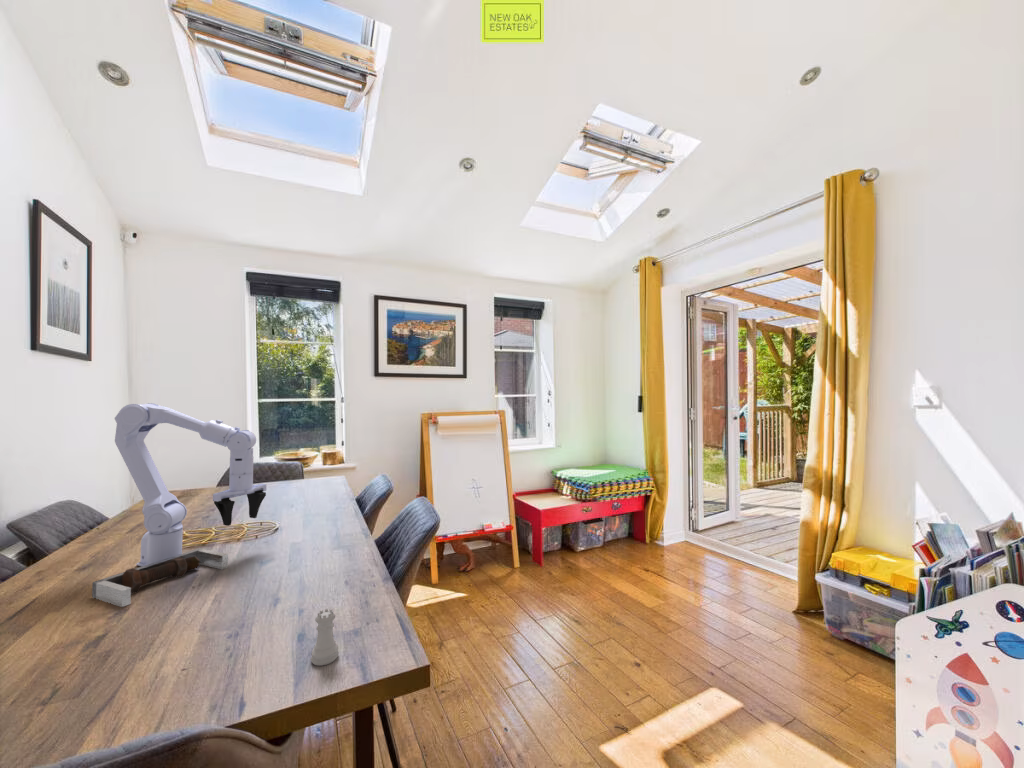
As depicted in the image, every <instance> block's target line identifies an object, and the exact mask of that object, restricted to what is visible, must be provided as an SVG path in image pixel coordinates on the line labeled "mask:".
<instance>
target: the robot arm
mask: <svg viewBox="0 0 1024 768" xmlns="http://www.w3.org/2000/svg"><path fill="white" fill-rule="evenodd" d="M114 420H115V422H116V428H115V434H114V435H115V436H114V443H115V445H116V447H117V450H118V451H119V453H120V456H121V457H122V460H123V462H124V463H125V466H126V467H127V470H128V471H129V473H130V475H131V477H132V479H133V481H134V483H135V485H136V487H137V489H138V492H139V494H140V495H141V497H142V499H143V501H144V502H143V503H144V504H143V506H142V509H141V510H142V511H141V512H142V514H143V518H144V519H143V526H144V528H145V529H146V530H147V531H146V532H145V533H144V534H143V536H142V538H141V539H140V540H141V541H140V562H137V563H136V566H139V567H142V566H145V565H148V564H151V563H155V562H158V561H161V560H164V559H167V558H170V557H174V556H177V555H180V554H183V535H184V534H183V527H184V526H183V521H184V520H185V518H186V517H187V514H188V509H187V507H186V505H185V504H183V503H182V502H180V501H179V500H178V498H177V496H176V495H175V494H173V493H172V492H170V491H169V490H168V488H167V485H166V484H165V481H164V480H163V477H162V475H161V473H160V472H159V469H158V467H157V465H156V464H155V461H154V459H153V457H152V455H151V453H150V451H149V449H148V447H147V445H146V443H145V439H146V438H147V436H148V434H149V433H150V431H151V430H152V429H154V428H155V427H156V426H157V425H160V424H170V425H173V426H176V427H179V428H183V429H186V430H190V431H193V432H196V433H198V434H199V435H200V438H201V439H202V440H205V441H207V442H210V443H213V444H216V445H219V446H221V447H227V448H228V450H229V451H230V452H229V453H230V455H229V473H228V474H229V477H228V478H229V479H228V480H229V482H228V483H229V485H228V487H229V488H228V489H225V490H222V491H219V492H215V493H212V501H213V504H214V505H215V506H216V508H217V510H218V512H219V515H220V516H221V519H222V524H223V526H227V527H229V526H231V525H232V521H233V517H232V516H233V509H234V505H235V503H236V501H234V500H231V498H236V497H237V498H238V497H241V496H245V495H246V497H247V501H248V517H249V518H251V519H256V518H257V517H258V513H259V511H260V507H261V505H262V502H263V500H265V498H266V496H267V493H266V491H267V483H260V484H254V448H253V447H255V445H256V443H257V438H256V437H257V436H256V435H255V434H254V433H253V432H251V431H250V430H249V429H243V430H240V429H241V427H239V426H230V425H229V424H226V423H224V420H222V419H216V420H215V419H210V420H208V421H203V420H201V419H199V418H196V417H193V416H191V415H189V414H186V413H183V412H181V411H179V410H176V409H173V408H171V407H168V406H164V405H159V404H156V403H152V402H151V403H149V402H148V403H139V404H138V403H129V404H126V405H125V406H123V407H122V408H121V409H119V411H118V413H117V414H116V415H115V417H114Z"/></svg>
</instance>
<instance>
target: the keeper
mask: <svg viewBox="0 0 1024 768" xmlns="http://www.w3.org/2000/svg"><path fill="white" fill-rule="evenodd" d="M193 556H195V557H197V558H198V559H199V560H200V562H199V564H200V565H199V566H206V567H209V568H214V569H218V570H224V569H227V568H228V567H229V553H225V552H219V551H215V550H211V549H210V550H209V549H207V548H206V549H205V548H196V549H193V550H190V551H187V552H184V553H183V552H182V554H180V555H177V556H174V557H170V558H167V559H164V560H161V561H158V562H155V563H151V564H148V565H145V566H139V567H135V569H137V570H139V571H142V570H148V569H151V568H155V567H158V566H162V565H165V564H169V563H170V562H171V561H172V559H174V558H177V557H181V558H184V559H186V558H190V557H193ZM124 572H125V571H124ZM124 572H120V573H117V574H114V575H111V576H108V577H104V578H101V579H98V580H95V581H92V583H91V584H92V586H91V587H92V588H91V590H92V591H91V598H92V597H93V598H92V599H94V598H96V599H95V600H98V599H99V600H98V601H101V600H102V601H101V602H105V603H107V602H108V603H107V604H110V603H111V605H114V606H117V607H120V608H125V607H126V606H129V605H131V603H132V602H131V600H132V599H131V596H132V594H131V588H130V587H126V586H123V585H121V580H122V575H123V574H124Z"/></svg>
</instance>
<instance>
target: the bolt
mask: <svg viewBox="0 0 1024 768" xmlns="http://www.w3.org/2000/svg"><path fill="white" fill-rule="evenodd" d="M199 562H200V560H199V559H198V558H197V557H195V556H193V557H190V558H186V559H184V558H181V557H177V558H174V559H172V561H171V562H170V563H169V564H165V565H162V566H158V567H155V568H151V569H148V570H142V571H139V570H137V569H136V568H133V567H132V568H128V569H126V570H125V571H124V574H123V575H122V580H121V585H123V586H126V587H130V588H131V595H133V594H135V592H136V593H138V592H139V590H140V588H141V587H142V586H145V585H147V584H151V583H153V582H156V581H160V580H163V579H167V578H170V577H172V578H181V577H183V576H184V575H185V574H186V572H189V571H191V570H195V569H197V568H199V567H200V566H201V565H200V564H199ZM132 593H133V594H132Z"/></svg>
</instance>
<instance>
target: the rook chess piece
mask: <svg viewBox="0 0 1024 768" xmlns="http://www.w3.org/2000/svg"><path fill="white" fill-rule="evenodd" d="M335 619H336V614H335V613H334V610H333V609H332V608H330V609H329V608H325V609H324V610H323V609H322V610H319V612H317V616H316V617H315V620H314V621H315V623H316V624H317V626H316V630H317V636H316V642H315V644H314V646H313V648H312V650H311V658H310V661H311V663H312V664H313V665H315V666H316V667H317V666H318V667H319V666H320V667H324V666H327V665H330V664H332V663H333V662H335V661H336V660H337V658H338V656H339V646H338V644H337V642H336V640H335V638H334V637H335V636H334V629H333V628H334V626H335V624H334V622H333V621H335Z"/></svg>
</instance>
